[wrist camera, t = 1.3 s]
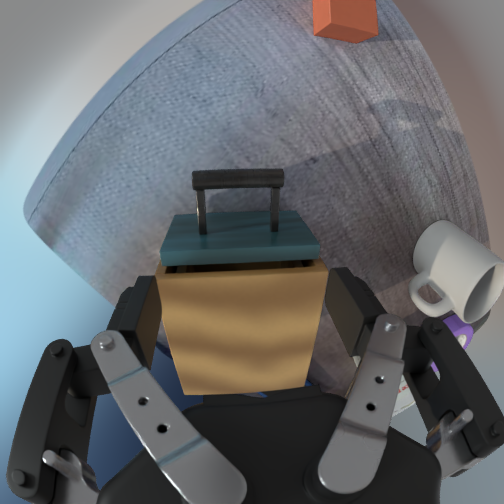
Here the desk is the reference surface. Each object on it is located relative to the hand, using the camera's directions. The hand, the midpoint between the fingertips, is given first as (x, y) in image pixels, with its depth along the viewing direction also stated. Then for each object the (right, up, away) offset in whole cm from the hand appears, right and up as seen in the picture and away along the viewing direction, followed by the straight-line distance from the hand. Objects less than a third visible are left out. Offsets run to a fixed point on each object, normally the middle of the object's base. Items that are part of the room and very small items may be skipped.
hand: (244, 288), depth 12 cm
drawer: (-1, +2, +15) cm, 15 cm away
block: (+8, +23, +6) cm, 25 cm away
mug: (+23, +1, +19) cm, 30 cm away
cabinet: (-1, -2, +18) cm, 18 cm away
